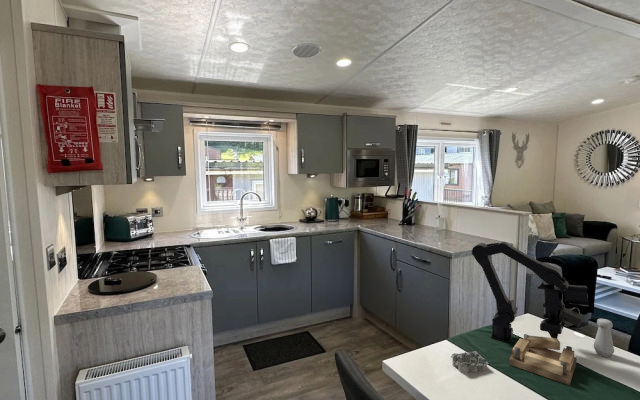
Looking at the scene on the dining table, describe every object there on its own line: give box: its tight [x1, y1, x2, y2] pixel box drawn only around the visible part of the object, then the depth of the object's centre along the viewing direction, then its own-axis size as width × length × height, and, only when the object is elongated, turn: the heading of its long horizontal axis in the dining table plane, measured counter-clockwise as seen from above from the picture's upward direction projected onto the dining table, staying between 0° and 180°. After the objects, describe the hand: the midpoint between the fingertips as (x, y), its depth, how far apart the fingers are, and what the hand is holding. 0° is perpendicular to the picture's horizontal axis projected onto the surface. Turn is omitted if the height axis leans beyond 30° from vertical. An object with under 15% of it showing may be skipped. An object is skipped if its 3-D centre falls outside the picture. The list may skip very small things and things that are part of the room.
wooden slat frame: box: [508, 338, 578, 386], centre depth 115 cm, size 17×17×6 cm
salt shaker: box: [593, 318, 615, 358], centre depth 120 cm, size 6×6×13 cm
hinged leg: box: [523, 333, 561, 351], centre depth 122 cm, size 11×3×4 cm, turn 74°
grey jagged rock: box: [450, 350, 489, 374], centre depth 114 cm, size 11×8×4 cm
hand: (554, 341), depth 123 cm, fingers closed
